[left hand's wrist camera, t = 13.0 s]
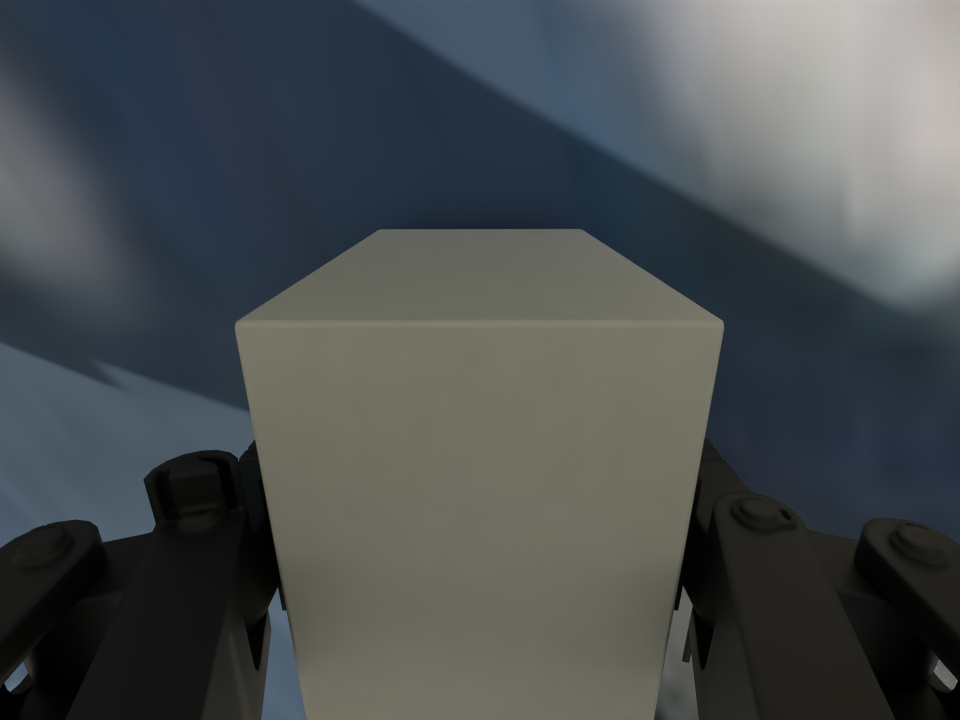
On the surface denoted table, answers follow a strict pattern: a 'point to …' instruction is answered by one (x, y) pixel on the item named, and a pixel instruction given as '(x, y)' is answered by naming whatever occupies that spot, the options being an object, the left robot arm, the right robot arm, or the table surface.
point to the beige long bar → (479, 472)
